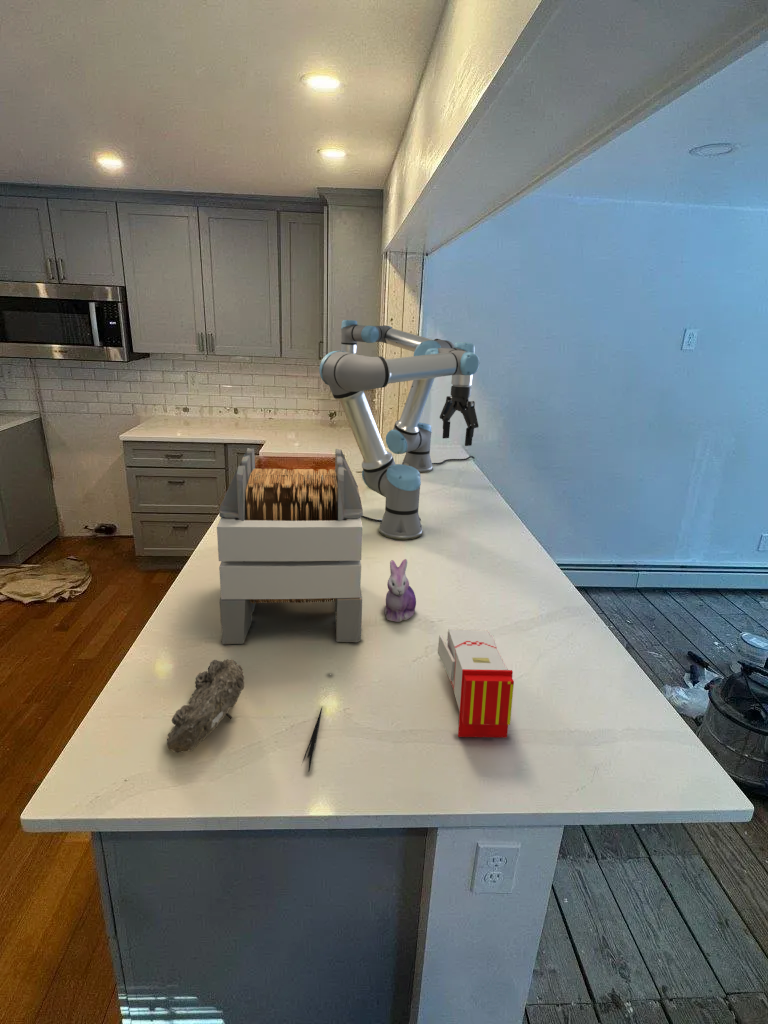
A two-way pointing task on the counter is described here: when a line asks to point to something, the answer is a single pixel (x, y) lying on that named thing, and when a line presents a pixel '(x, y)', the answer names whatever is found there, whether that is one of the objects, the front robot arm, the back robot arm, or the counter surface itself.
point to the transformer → (290, 544)
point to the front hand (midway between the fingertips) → (456, 441)
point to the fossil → (206, 705)
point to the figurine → (399, 594)
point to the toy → (478, 682)
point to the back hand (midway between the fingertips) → (347, 397)
